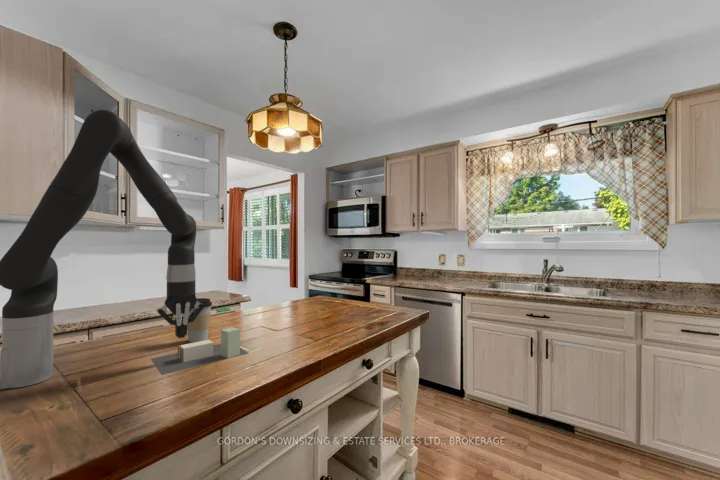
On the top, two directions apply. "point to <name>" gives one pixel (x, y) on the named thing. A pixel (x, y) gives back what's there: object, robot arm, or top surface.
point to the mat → (173, 364)
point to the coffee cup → (200, 322)
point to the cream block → (195, 350)
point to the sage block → (230, 342)
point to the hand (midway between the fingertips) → (181, 337)
